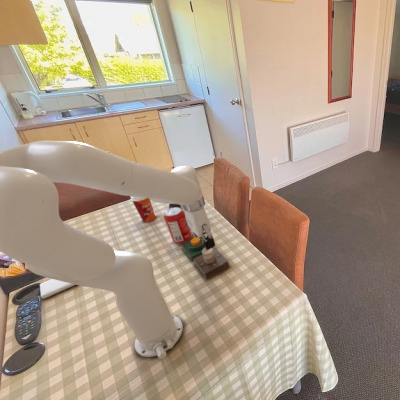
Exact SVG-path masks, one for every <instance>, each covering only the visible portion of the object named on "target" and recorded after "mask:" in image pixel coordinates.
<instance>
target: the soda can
mask: <svg viewBox="0 0 400 400" xmlns="http://www.w3.org/2000/svg"><path fill="white" fill-rule="evenodd" d="M163 219H164V222H165V225H166V227H167V230H168V232H169V235H170V237H171V241H172V242H173V243H174V244H177V245H178V244H180V245H181V244H186V243H188V242H189V241H191V240H192V237H193V234H192V230H191V229H190V227H189V226H188V223H187V220H186V217H185V213H184V211H183V210H181V208H178V207H176V208H171V209H169V208H168V209H166V210H165V211H164V216H163Z"/></svg>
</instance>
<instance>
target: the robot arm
mask: <svg viewBox="0 0 400 400" xmlns="http://www.w3.org/2000/svg"><path fill="white" fill-rule="evenodd" d="M55 183H58V184H68V185H74V186H80V187H83V188H88V189H93V190H97V191H102V192H107V193H111V194H115V195H119V196H125V197H130V198H131V197H140V198H149V199H150V201H152V202H154V203H157V204H168V205H169V204H180V206H181V209H182V210H183V211H184V213H185V217H186V220H187V223H188V226H189V228H190V231H191V232H193V235H194V238H196V237H198V238H200V237H203V238H204V244H205V247H206V249H207V250H208V249H210V248H212V247H213V248H215V247H216V242H215V239H214V236H213V233H212V226H211V223H210V221H209V217H208V213H207V211H206V209H205V206H206V200H205V197H204V194H203V190H202V187H201V183H200V180H199V178H198V174H197V170H196V169H195V168H194V167H193V166H190V165H182V166H177V167H175V168H173V169H172V170H170V171H168V170H164V169H161V168H158V167H154V166H151V165H147V164H142V163H139V162H135V161H132V160H130V159H128V158H125V157H122V156H120V155H116V154H114V153H111V152H109V151H107V150H104V149H101V148H98V147H95V146H93V145H89V144H87V143H84V142H79V141H70V140H69V141H68V140H48V139H47V140H45V139H44V140H37V141H31V142H28V143H24V144H21V145H17V146H14V147H11V148H8V149H4V150H1V151H0V252H2V253H3V254H4V255H5V256H7V257H8V258H10V259H12V260H14V261H17V262H20V263H23V264H24V265H25V267H26V269H28V270H29V271H30V272H32V273H33V274H35V275H36V276H37V275H38V276H40V277H44V278H47V279H50V280H51V279H55V280H59V281H63V282H67V283H71V284H75V285H74V286H76V285H77V286H80V287H84V288H91V289H97V290H103V291H108V292H111V293H113V294H115V295H116V300H115V302H116V303H115V304H116V307H117V310H118V311H119V313H120V314H121V315H122V317H123V319H124V320H125V322H126V324H127V325H128V327H129V328H130V330H131V331H132V333H133V334H134V336H135V340H134V349H135V352H136V353H137V354H138V355H139V356H141V357H143V358H152V357H157V358H158V360H164V359H165V357H167V355H168V354H167V351H168V350H170V349H173V348H174V347H175V346H174V345H175V344H176V343H178V341H179V340H180V337H181V336H182V334H183V330H184V325H183V322H182V320H181V318H180V317H178V316H177V315H176V316H175V315H173V314H172V313H171V311H170V308H169V306H168V305H167V302H166V301H165V298H164V296H163V294H162V292H161V290H160V289H159V286H158V283H157V281H156V278H155V274H154V273H155V272H154V266H153V263H152V261H151V259H150V258H148V257H147V256H146V255H143V254H141V253H138V252H133V251H128V250H127V251H126V250H120V249H119V250H118V249H117V250H116V249H114V248H113V247H112V246H111V245H110V243H108V242H107V241H105V240H104V239H102V238H100V237H97V236H94V235H92V234H90V233H87V232H85V231H82V230H80V229H78V228H76V227H73V226H71V224H68V223H67V222H64V221H63V220H62V218H61V216H60V209H59V207H60V197H59V192H58V188H57V187H56V185H55Z"/></svg>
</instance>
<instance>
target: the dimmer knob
mask: <svg viewBox="0 0 400 400" xmlns="http://www.w3.org/2000/svg"><path fill="white" fill-rule="evenodd" d="M213 249H214V247H213V248H210V249H208V250H207V249H206V247H204V249H203V250H202V255H203V258H204V261H205V263H207V264H210V263H213V262H214V261H215V260H216V258H215V254H214V251H213Z"/></svg>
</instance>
